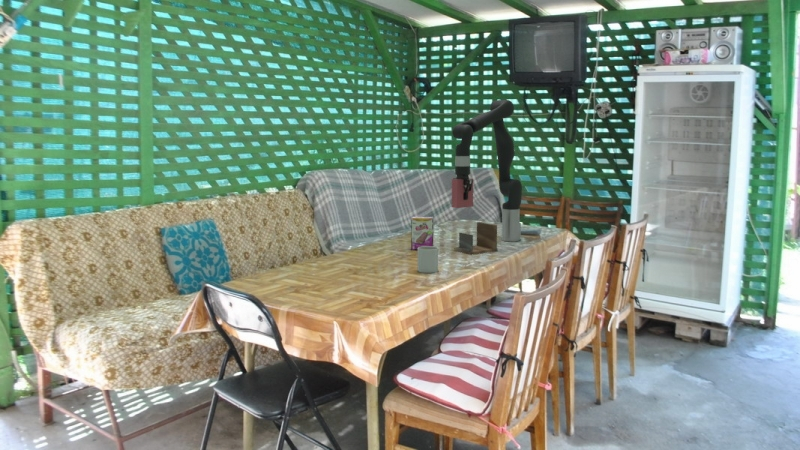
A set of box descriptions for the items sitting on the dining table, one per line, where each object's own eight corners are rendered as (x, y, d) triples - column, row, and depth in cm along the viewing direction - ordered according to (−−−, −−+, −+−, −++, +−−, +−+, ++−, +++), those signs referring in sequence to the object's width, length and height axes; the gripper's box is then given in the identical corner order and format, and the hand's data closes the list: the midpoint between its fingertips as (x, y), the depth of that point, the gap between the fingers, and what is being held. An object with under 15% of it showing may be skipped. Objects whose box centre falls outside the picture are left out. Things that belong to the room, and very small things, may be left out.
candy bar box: (411, 250, 337) (410, 217, 334) (411, 248, 342) (411, 216, 339) (433, 250, 336) (433, 217, 333) (433, 248, 341) (433, 216, 338)
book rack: (480, 247, 343) (480, 222, 341) (497, 251, 332) (497, 225, 331) (454, 250, 334) (454, 224, 332) (470, 254, 323) (470, 228, 321)
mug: (423, 273, 282) (423, 250, 281) (413, 269, 291) (413, 247, 289) (446, 271, 287) (446, 248, 286) (434, 267, 296) (434, 244, 294)
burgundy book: (467, 205, 341) (467, 178, 339) (473, 206, 338) (473, 178, 336) (451, 207, 336) (451, 179, 334) (457, 208, 332) (457, 179, 330)
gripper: (477, 165, 330) (477, 200, 332) (460, 164, 342) (460, 197, 344) (465, 166, 326) (465, 201, 328) (448, 164, 338) (448, 198, 341)
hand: (462, 199), depth 336 cm, fingers closed on burgundy book, 4 cm apart
